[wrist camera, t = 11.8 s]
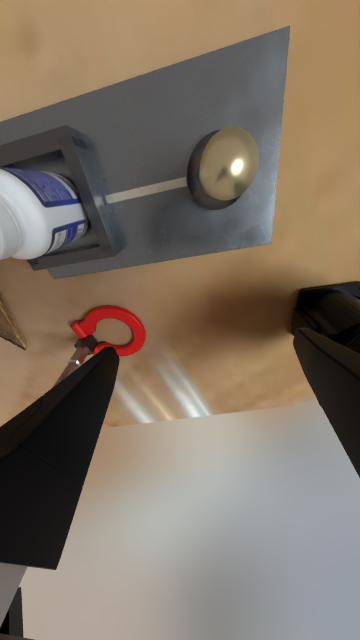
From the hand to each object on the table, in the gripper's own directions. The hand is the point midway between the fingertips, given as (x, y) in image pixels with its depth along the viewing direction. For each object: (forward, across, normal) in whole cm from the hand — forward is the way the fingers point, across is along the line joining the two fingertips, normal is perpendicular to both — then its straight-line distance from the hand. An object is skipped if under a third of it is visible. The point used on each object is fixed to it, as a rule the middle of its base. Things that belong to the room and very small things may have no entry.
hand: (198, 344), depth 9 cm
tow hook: (+13, +13, +8) cm, 20 cm away
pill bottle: (+12, +11, -7) cm, 18 cm away
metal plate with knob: (+13, +4, -7) cm, 15 cm away
